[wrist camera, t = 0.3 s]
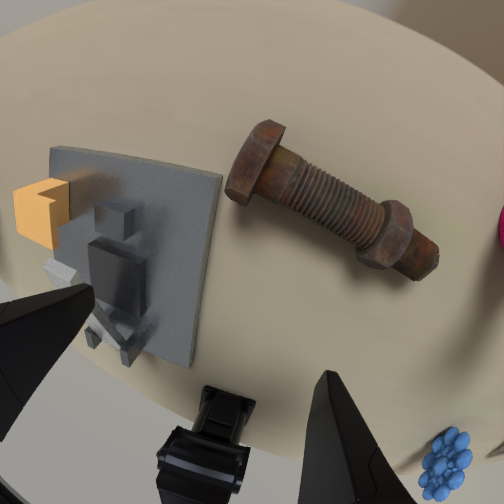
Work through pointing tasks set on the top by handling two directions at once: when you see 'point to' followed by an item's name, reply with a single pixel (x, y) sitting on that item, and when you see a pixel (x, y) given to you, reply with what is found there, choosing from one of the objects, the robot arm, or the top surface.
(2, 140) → the top surface
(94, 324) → the strap
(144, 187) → the base
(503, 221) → the pepper mill
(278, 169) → the bolt
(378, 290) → the top surface
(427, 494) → the grapes
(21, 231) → the block
